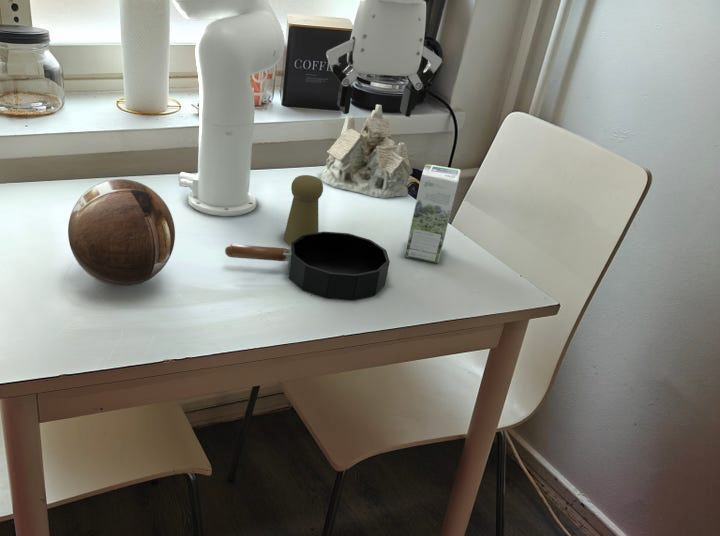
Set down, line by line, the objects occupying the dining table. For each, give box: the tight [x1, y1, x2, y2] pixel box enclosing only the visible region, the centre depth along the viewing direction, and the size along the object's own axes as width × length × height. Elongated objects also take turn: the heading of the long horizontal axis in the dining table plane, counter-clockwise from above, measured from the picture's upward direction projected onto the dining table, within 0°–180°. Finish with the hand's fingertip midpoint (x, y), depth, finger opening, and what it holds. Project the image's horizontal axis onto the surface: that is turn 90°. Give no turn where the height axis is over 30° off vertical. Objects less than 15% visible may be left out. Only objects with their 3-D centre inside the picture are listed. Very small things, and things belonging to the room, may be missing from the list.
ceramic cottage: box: [319, 104, 413, 199], centre depth 142 cm, size 16×16×15 cm
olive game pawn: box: [283, 174, 324, 246], centre depth 118 cm, size 6×6×11 cm
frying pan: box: [224, 231, 391, 301], centre depth 110 cm, size 25×15×4 cm, turn 88°
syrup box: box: [404, 163, 462, 264], centre depth 116 cm, size 6×6×14 cm
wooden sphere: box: [67, 178, 176, 287], centre depth 101 cm, size 15×15×15 cm
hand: (374, 112), depth 109 cm, fingers open, 9 cm apart
